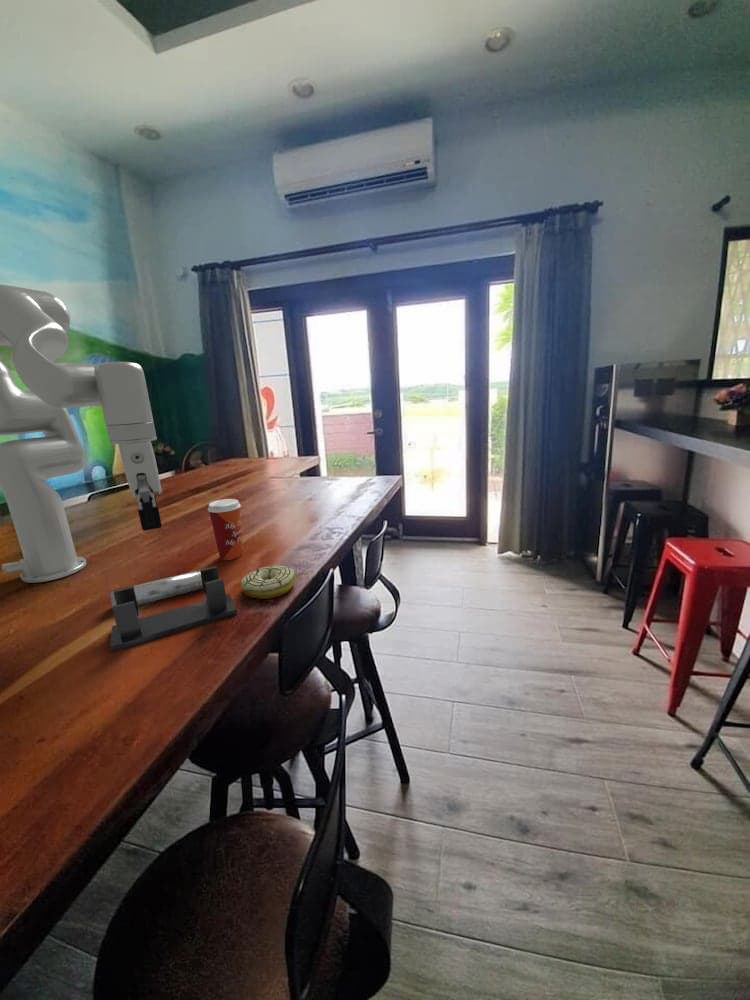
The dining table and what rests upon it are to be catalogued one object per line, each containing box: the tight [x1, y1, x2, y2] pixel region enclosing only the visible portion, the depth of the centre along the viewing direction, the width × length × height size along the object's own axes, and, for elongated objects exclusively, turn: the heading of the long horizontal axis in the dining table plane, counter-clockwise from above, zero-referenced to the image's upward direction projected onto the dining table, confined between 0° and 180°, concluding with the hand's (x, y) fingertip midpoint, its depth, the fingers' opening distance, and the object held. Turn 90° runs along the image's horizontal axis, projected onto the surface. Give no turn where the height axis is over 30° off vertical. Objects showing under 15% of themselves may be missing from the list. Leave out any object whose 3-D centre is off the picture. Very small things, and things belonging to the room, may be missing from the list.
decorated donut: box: [240, 564, 296, 600], centre depth 84 cm, size 10×11×4 cm
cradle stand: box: [109, 565, 238, 653], centre depth 73 cm, size 20×7×8 cm, turn 120°
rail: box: [109, 569, 203, 607], centre depth 83 cm, size 18×4×4 cm, turn 120°
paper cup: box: [207, 498, 244, 561], centre depth 101 cm, size 8×8×14 cm
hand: (151, 522), depth 79 cm, fingers open, 9 cm apart
